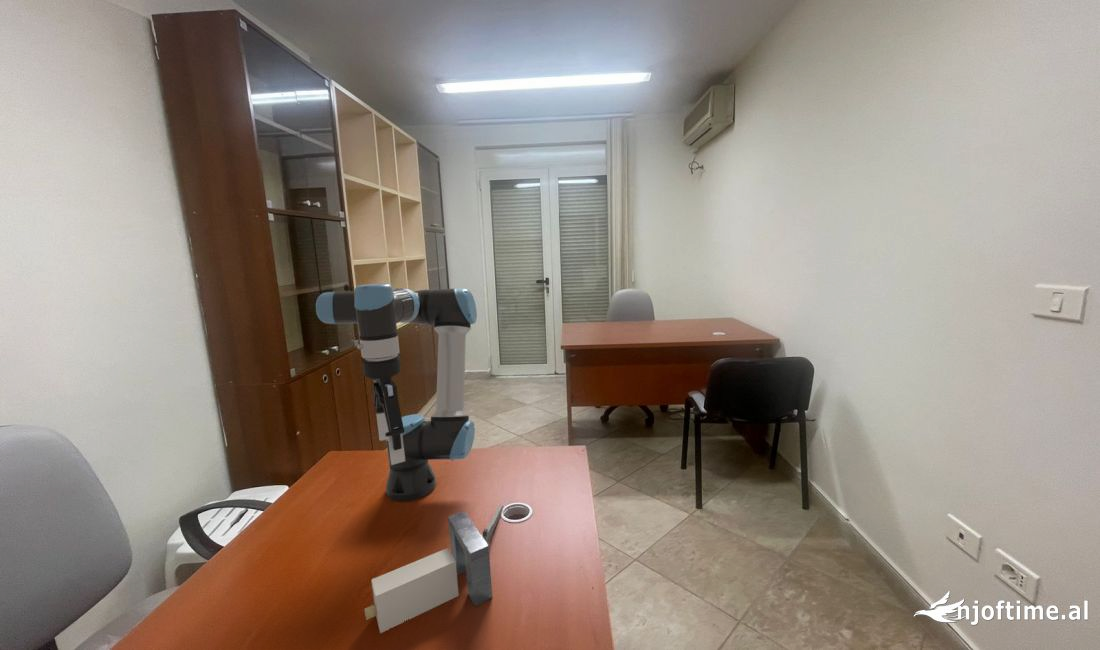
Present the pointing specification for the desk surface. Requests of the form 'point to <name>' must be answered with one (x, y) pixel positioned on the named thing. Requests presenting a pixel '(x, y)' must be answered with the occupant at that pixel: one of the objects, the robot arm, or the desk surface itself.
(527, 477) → the desk surface
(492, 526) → the caliper
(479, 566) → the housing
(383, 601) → the plug
